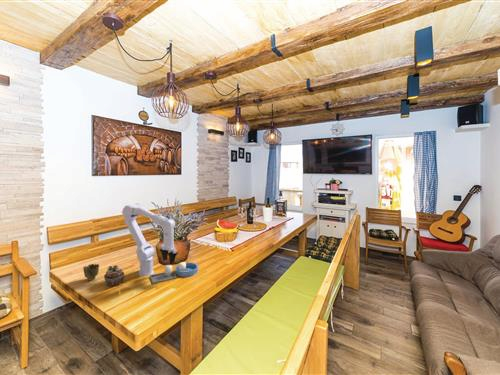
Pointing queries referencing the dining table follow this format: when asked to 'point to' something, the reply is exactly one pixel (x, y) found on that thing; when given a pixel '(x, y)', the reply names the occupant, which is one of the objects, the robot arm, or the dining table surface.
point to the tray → (161, 277)
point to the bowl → (187, 270)
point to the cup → (91, 271)
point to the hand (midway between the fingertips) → (168, 261)
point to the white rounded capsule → (182, 266)
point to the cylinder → (168, 270)
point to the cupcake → (113, 276)
